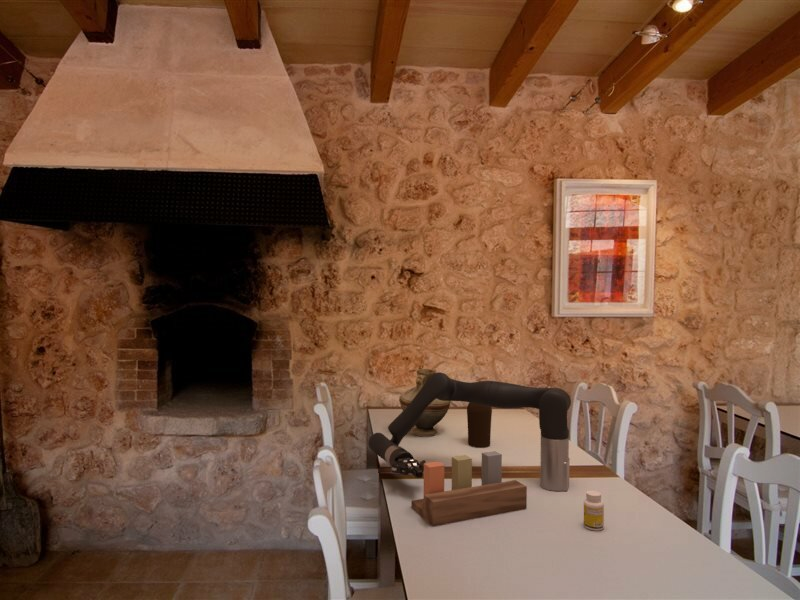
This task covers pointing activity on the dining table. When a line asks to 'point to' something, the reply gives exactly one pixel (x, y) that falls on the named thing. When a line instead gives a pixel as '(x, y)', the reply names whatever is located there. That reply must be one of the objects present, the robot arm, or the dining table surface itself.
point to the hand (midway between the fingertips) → (420, 474)
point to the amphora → (432, 411)
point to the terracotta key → (433, 477)
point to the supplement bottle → (593, 511)
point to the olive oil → (479, 425)
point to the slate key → (491, 468)
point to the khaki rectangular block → (461, 472)
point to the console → (471, 502)
